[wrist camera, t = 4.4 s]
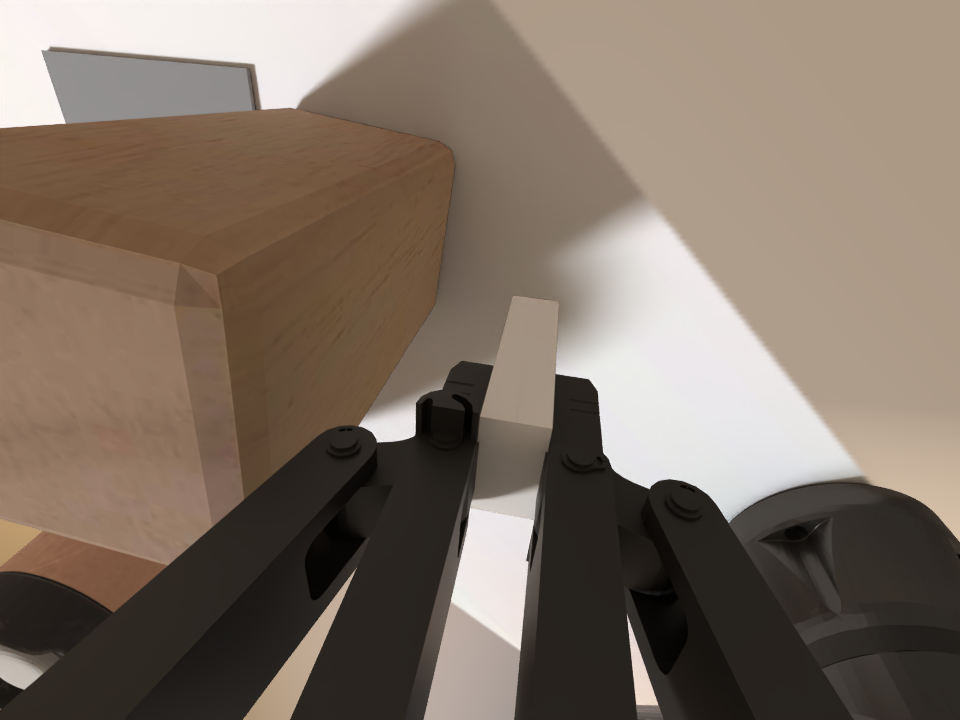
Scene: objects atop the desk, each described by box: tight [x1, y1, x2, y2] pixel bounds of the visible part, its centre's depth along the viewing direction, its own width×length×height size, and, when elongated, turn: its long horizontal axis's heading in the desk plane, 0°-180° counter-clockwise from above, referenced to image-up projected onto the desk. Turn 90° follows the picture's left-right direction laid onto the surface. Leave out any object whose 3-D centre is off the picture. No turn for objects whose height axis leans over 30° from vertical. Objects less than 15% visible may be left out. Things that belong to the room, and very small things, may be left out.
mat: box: [41, 50, 256, 124], centre depth 29 cm, size 12×15×1 cm
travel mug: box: [0, 531, 168, 709], centre depth 28 cm, size 8×8×20 cm
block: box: [0, 108, 455, 565], centre depth 19 cm, size 10×10×20 cm
